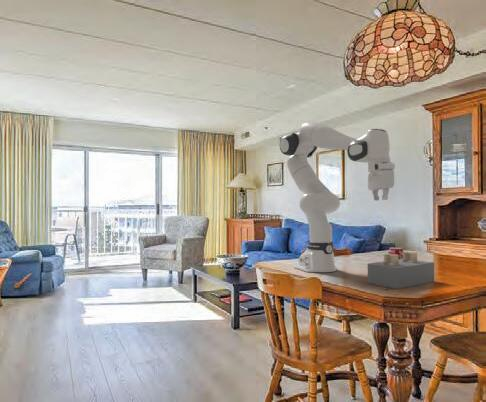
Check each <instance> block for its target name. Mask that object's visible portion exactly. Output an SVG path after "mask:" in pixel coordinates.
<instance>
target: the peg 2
mask: <svg viewBox="0 0 486 402" xmlns="http://www.w3.org/2000/svg"><path fill="white" fill-rule="evenodd" d="M417 260H418V252H416V251H404V252H403V262H409V263H414V262H417Z"/></svg>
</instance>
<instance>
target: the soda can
mask: <svg viewBox="0 0 486 402" xmlns="http://www.w3.org/2000/svg"><path fill="white" fill-rule="evenodd" d="M403 252H405V251H404V250H403V247H398V246H392V247H389V249H388V251H387V254H397V255H398V259H403Z"/></svg>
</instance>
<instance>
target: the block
mask: <svg viewBox="0 0 486 402" xmlns="http://www.w3.org/2000/svg"><path fill="white" fill-rule="evenodd" d="M434 282H435V262H434V261H428V260H427V261H425V260H419V259H417V262H414V263H409V262H403V259H399V265H393V266H391V265H385V264H384V260H383V261H376V262H370V263H367V283H368V284H371V285H377V286H380V287H385V286H386V288H391V289H395V290H398V289H402V288H408V287H414V286H419V285H424V284H429V283H434Z"/></svg>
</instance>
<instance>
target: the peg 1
mask: <svg viewBox="0 0 486 402" xmlns="http://www.w3.org/2000/svg"><path fill="white" fill-rule="evenodd" d="M383 261H384V264H385V265H391V266H393V265H399V259H398V255H397V254H388V253H385V254H383Z"/></svg>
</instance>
